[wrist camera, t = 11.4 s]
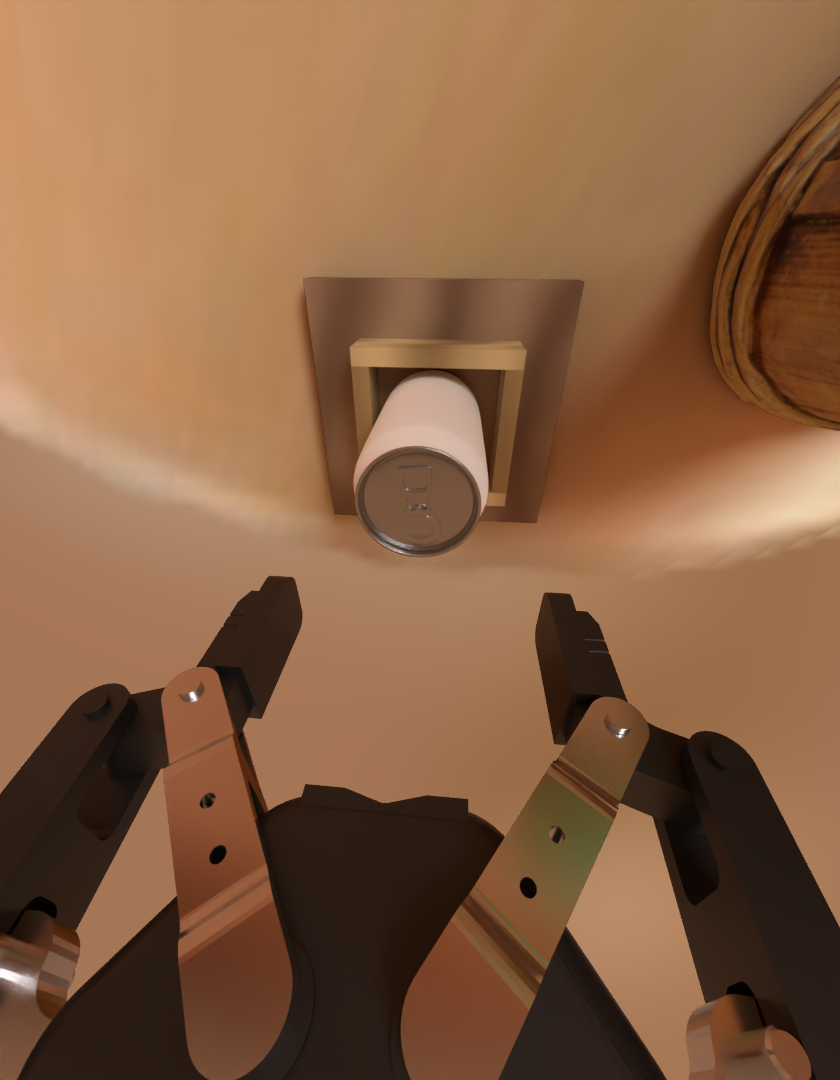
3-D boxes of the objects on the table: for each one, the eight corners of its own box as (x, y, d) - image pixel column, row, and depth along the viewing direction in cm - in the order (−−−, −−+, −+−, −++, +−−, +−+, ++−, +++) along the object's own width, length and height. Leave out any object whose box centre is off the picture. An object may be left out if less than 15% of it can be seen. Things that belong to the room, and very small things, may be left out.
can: (391, 464, 30) (357, 565, 20) (378, 371, 26) (331, 440, 17) (479, 460, 29) (490, 563, 20) (479, 364, 26) (493, 432, 16)
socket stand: (577, 279, 24) (599, 284, 20) (533, 513, 33) (542, 545, 30) (310, 277, 25) (285, 281, 21) (339, 504, 34) (324, 535, 30)
